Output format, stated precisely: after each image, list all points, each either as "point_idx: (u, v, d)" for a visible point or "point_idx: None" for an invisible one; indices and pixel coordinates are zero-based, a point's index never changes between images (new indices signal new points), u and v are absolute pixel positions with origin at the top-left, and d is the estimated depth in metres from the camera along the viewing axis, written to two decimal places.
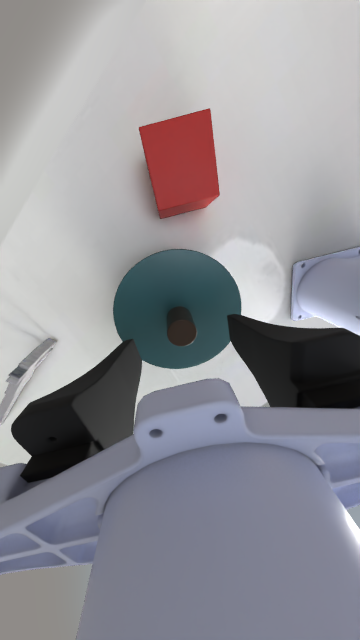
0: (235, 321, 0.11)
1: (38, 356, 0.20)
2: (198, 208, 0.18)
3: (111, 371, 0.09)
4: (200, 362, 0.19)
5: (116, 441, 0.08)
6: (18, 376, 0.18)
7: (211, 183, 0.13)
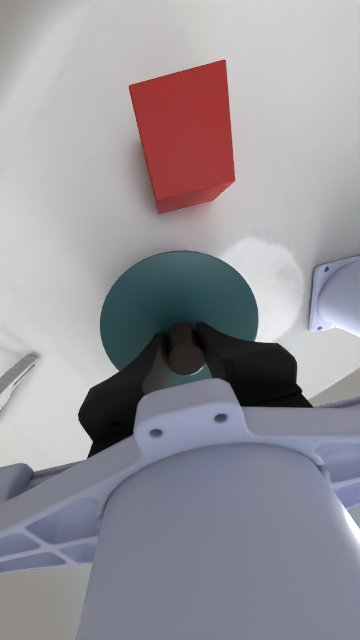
0: (199, 330, 0.11)
1: (13, 378, 0.16)
2: (205, 201, 0.15)
3: (156, 360, 0.09)
4: None
5: None
6: None
7: (225, 165, 0.10)
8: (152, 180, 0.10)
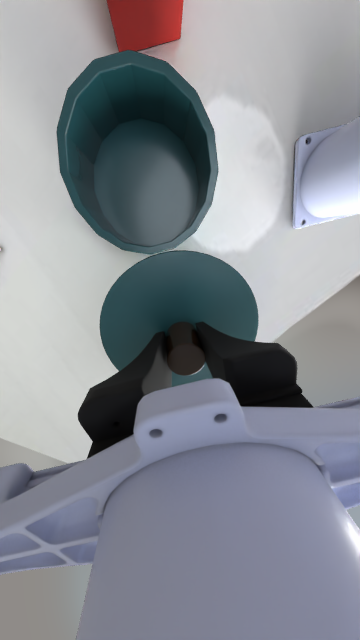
0: (199, 330, 0.11)
1: None
2: (169, 33, 0.13)
3: (156, 360, 0.09)
4: None
5: None
6: None
7: None
8: None
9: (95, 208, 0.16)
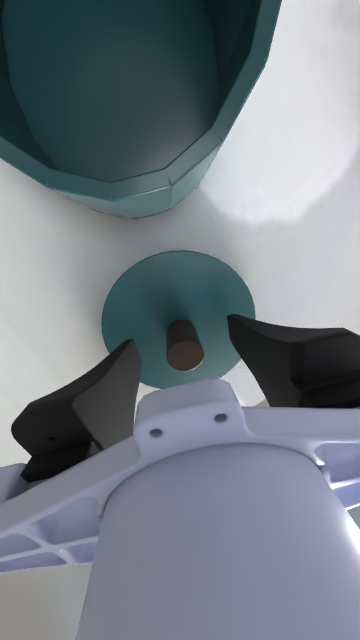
0: (235, 321, 0.11)
1: None
2: None
3: (111, 371, 0.09)
4: None
5: (116, 441, 0.08)
6: None
7: None
8: None
9: (2, 109, 0.07)
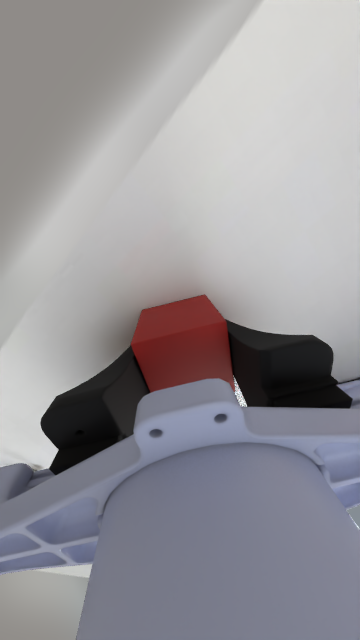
0: None
1: None
2: None
3: (131, 366, 0.09)
4: None
5: None
6: None
7: None
8: None
9: None
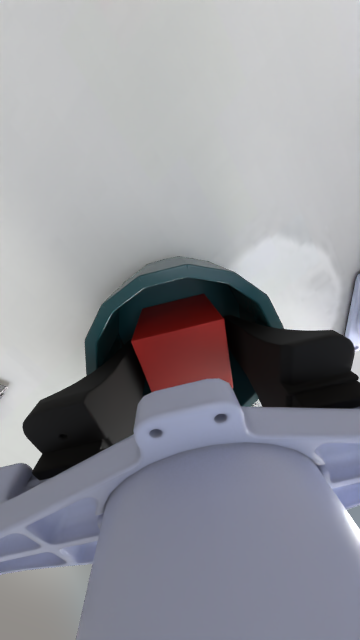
0: (229, 323, 0.11)
1: None
2: None
3: (119, 369, 0.09)
4: None
5: (125, 439, 0.07)
6: None
7: None
8: None
9: None
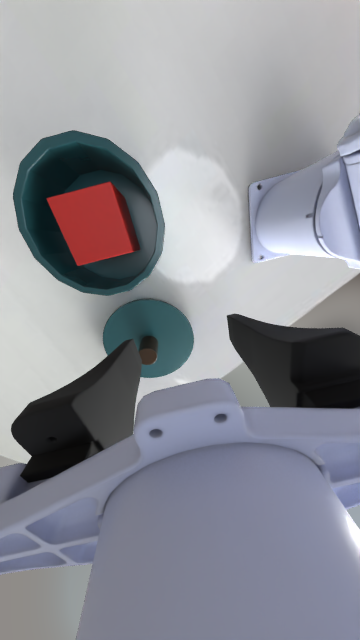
0: (235, 321, 0.11)
1: None
2: None
3: (111, 371, 0.09)
4: (167, 373, 0.26)
5: (116, 441, 0.08)
6: None
7: (123, 242, 0.14)
8: (72, 253, 0.14)
9: (60, 250, 0.17)
